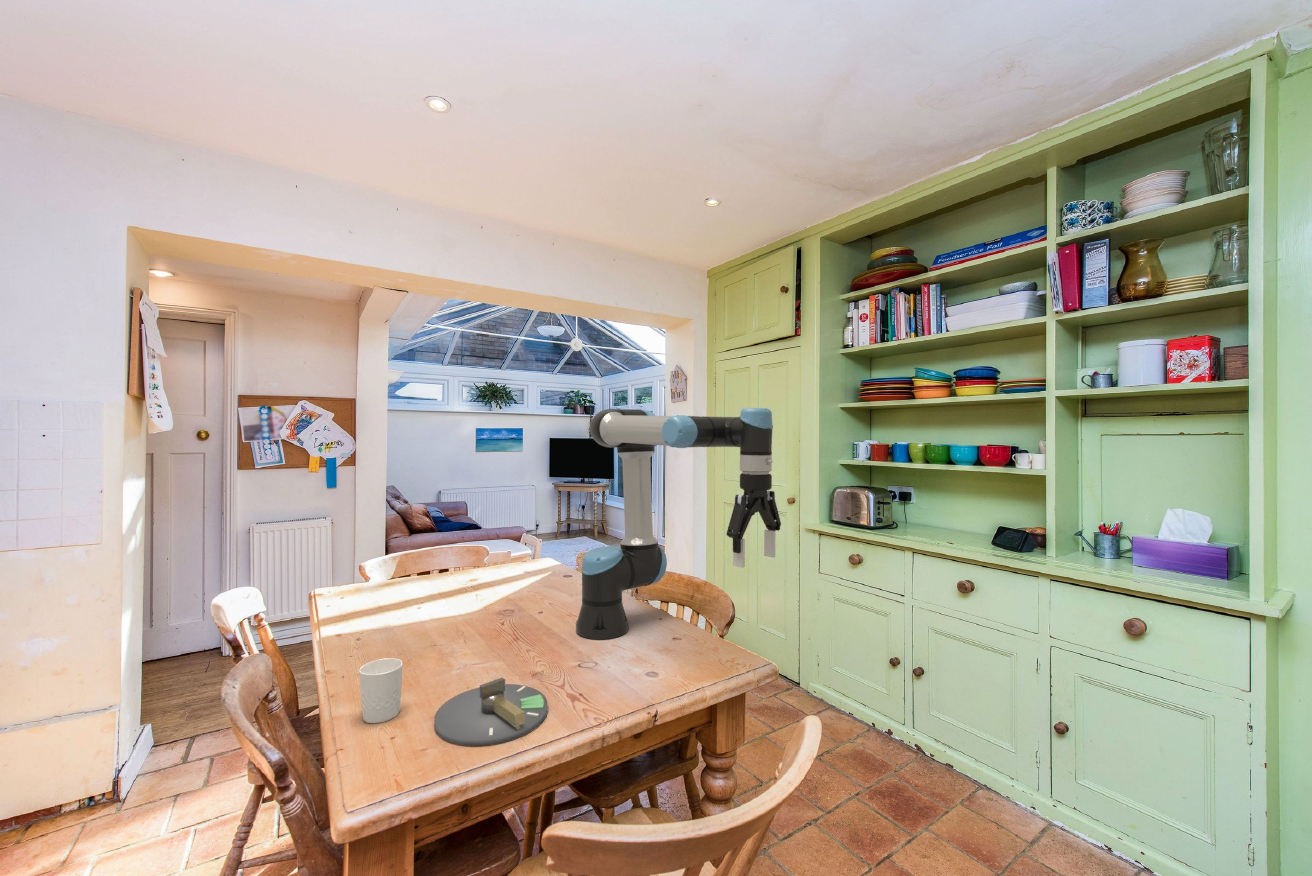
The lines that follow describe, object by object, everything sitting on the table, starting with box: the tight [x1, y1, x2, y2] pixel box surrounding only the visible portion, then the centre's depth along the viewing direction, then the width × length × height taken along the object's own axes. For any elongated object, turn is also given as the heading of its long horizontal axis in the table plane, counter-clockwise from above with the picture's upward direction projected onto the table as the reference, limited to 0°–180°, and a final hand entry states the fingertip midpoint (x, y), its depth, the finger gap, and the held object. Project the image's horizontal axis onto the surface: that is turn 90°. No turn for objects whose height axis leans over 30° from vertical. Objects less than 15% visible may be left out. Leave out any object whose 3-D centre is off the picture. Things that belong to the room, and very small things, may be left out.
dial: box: [433, 683, 548, 747], centre depth 110 cm, size 22×22×2 cm
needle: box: [479, 677, 525, 727], centre depth 107 cm, size 13×5×5 cm, turn 45°
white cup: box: [358, 657, 404, 724], centre depth 110 cm, size 8×8×10 cm
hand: (754, 561), depth 130 cm, fingers open, 13 cm apart
